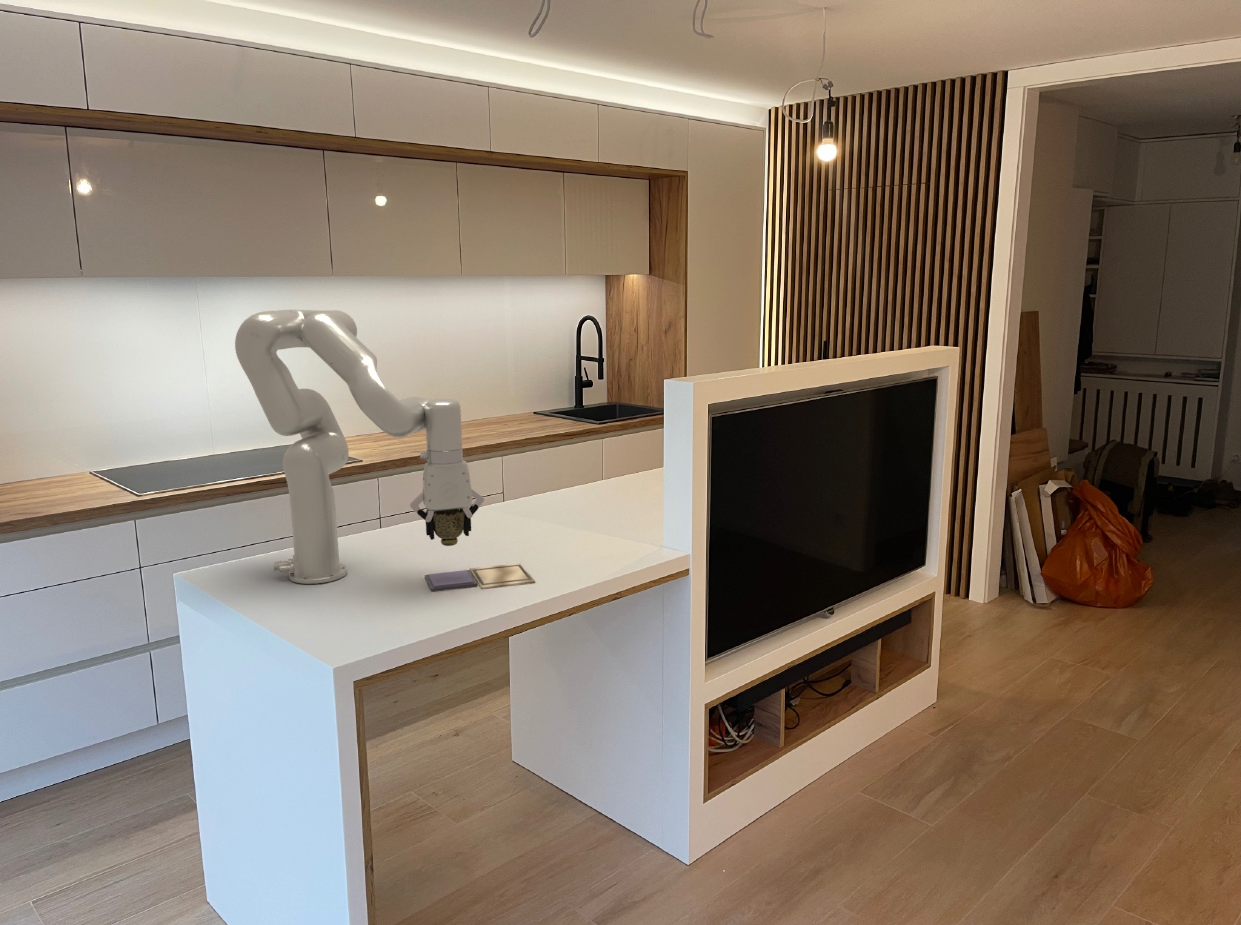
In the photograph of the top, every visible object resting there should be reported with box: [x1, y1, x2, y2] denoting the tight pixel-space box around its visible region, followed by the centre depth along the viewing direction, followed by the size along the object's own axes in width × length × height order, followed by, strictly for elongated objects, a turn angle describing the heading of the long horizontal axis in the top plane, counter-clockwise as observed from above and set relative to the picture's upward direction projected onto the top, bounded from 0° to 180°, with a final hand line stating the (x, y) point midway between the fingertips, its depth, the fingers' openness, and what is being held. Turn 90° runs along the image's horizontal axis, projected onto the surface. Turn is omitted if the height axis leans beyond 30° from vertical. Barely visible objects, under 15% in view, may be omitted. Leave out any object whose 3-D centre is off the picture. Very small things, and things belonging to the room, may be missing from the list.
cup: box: [432, 509, 465, 547], centre depth 204 cm, size 8×7×8 cm
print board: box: [468, 562, 536, 590], centre depth 210 cm, size 12×14×1 cm
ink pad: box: [424, 569, 478, 593], centre depth 206 cm, size 10×10×1 cm
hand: (449, 535), depth 204 cm, fingers closed on cup, 7 cm apart
